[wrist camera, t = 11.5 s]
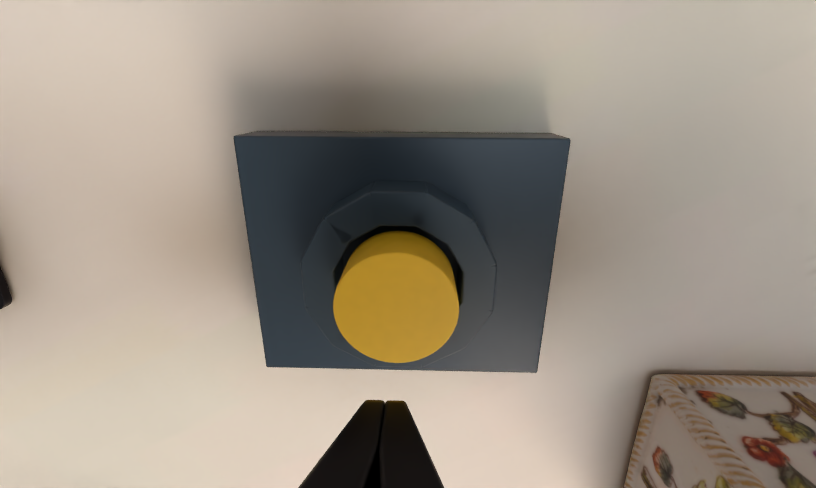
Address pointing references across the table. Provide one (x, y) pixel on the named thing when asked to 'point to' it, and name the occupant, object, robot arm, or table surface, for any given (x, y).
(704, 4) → the table surface
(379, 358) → the button
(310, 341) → the blue button base
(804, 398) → the decorative jar
